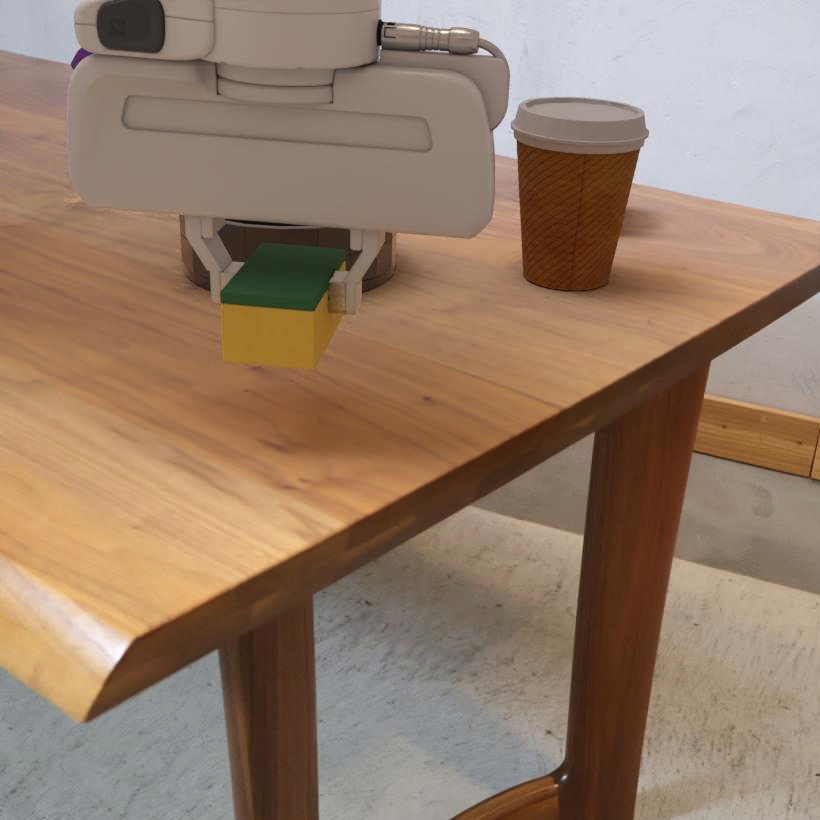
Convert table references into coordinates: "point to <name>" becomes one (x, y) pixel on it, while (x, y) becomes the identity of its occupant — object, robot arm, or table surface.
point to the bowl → (250, 234)
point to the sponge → (280, 306)
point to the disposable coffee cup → (574, 186)
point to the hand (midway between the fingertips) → (286, 305)
